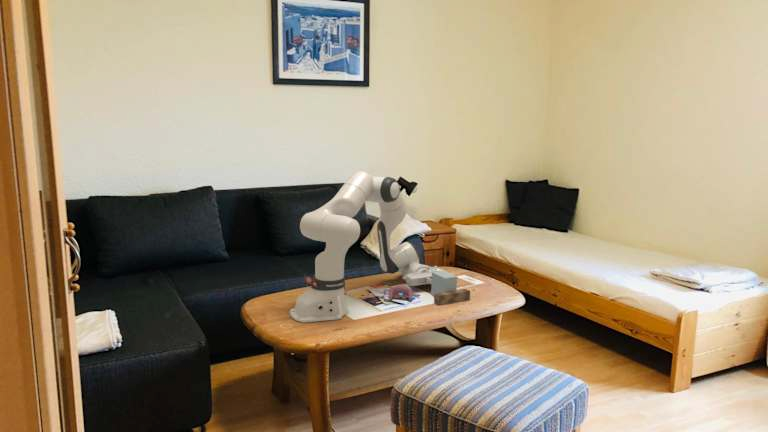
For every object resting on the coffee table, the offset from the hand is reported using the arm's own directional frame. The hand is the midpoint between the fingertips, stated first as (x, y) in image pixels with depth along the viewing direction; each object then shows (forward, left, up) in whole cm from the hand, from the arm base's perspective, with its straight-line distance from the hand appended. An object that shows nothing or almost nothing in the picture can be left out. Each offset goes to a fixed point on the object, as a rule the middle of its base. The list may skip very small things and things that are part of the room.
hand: (437, 282), depth 248 cm
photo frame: (+19, +9, -6) cm, 22 cm away
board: (0, -12, -5) cm, 13 cm away
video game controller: (-18, 0, -5) cm, 19 cm away
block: (0, -5, -5) cm, 7 cm away
